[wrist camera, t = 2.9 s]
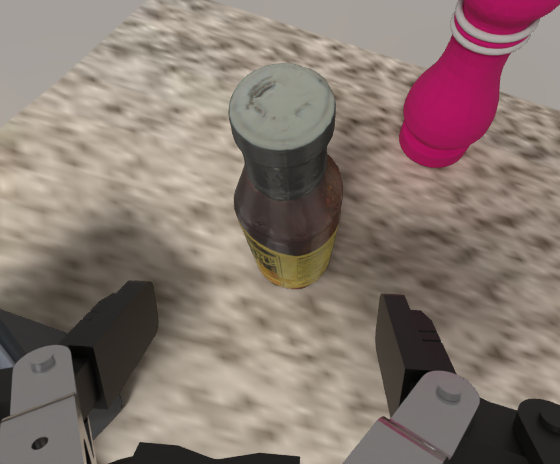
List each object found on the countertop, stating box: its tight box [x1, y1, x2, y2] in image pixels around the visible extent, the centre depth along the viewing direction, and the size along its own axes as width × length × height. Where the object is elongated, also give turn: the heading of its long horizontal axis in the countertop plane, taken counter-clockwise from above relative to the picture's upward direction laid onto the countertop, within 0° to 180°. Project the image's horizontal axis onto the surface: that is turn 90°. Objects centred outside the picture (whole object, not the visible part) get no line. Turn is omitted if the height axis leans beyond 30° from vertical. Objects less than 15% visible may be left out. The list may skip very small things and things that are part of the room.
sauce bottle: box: [229, 63, 343, 289], centre depth 23 cm, size 7×6×20 cm
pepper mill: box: [399, 0, 560, 168], centre depth 26 cm, size 7×7×20 cm
